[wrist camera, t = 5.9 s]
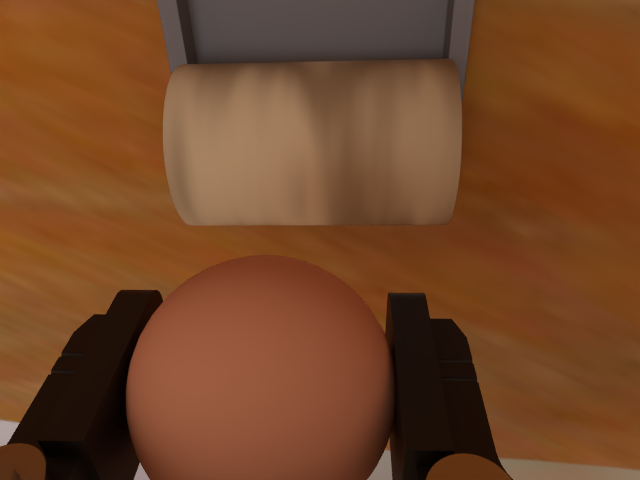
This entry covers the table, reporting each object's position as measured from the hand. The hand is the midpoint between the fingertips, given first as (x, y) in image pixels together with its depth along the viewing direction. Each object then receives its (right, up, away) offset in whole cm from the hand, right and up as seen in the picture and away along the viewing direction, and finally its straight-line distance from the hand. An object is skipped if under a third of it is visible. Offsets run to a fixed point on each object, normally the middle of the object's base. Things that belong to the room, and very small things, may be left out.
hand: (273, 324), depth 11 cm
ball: (0, 0, +1) cm, 1 cm away
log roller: (+1, +8, +16) cm, 18 cm away
